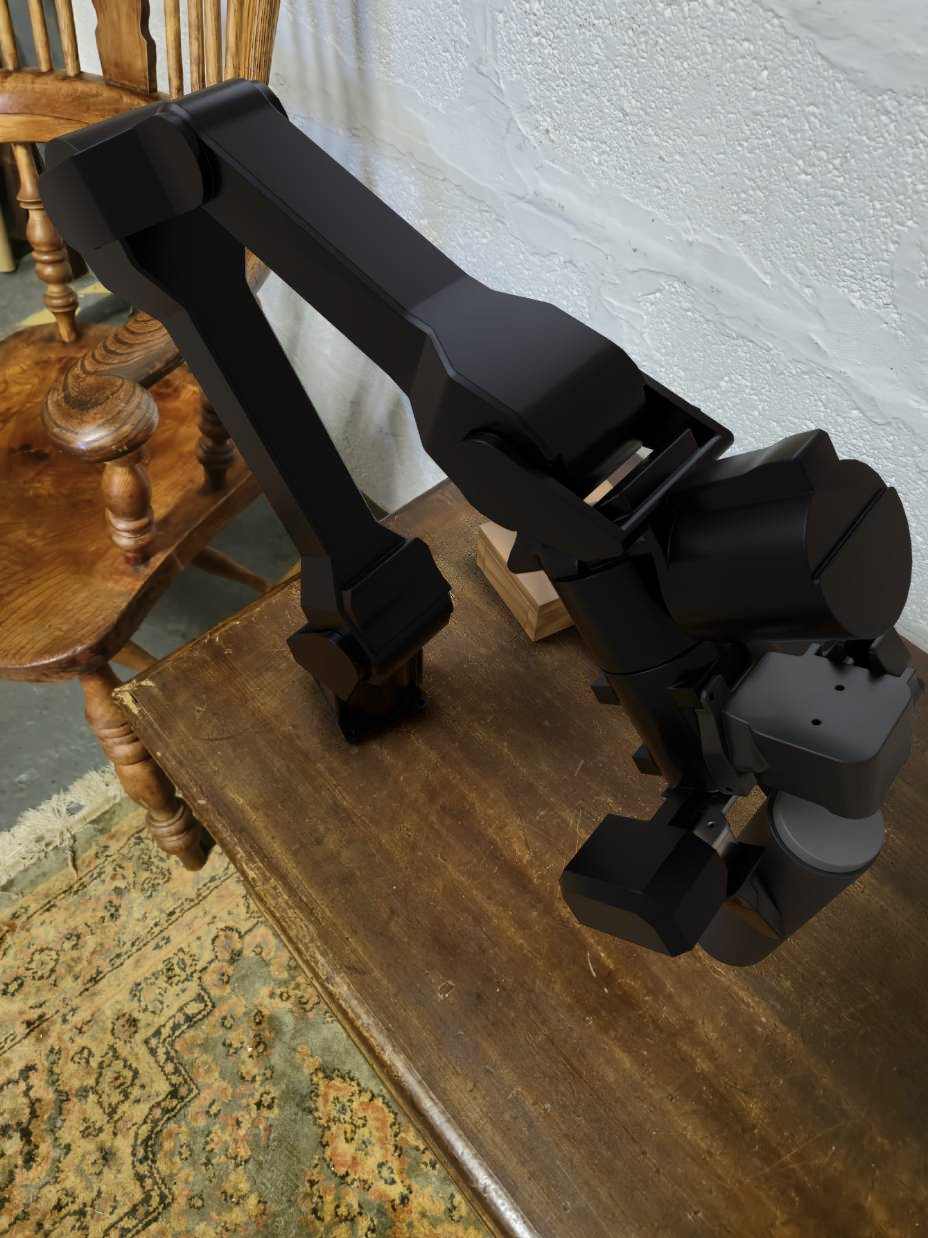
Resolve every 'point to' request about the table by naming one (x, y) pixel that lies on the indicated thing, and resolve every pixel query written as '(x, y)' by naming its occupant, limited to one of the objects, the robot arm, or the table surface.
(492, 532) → the wooden box
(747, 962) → the cylinder
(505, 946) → the table surface
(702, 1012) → the table surface
